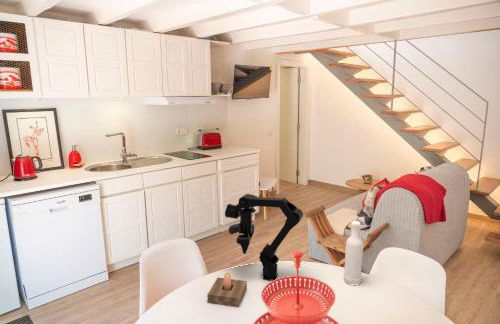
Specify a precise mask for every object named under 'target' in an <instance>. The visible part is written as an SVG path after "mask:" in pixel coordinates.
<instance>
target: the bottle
mask: <svg viewBox="0 0 500 324" xmlns="http://www.w3.org/2000/svg"><path fill="white" fill-rule="evenodd" d="M360 229H361V223H360V221H357V220H354V221H352V222H351V233H350V236H349V237H348V238H347V240H346V242H345V253H344V254H345V256H344V269H343V271H344V272H343V281H345V282H344V283H346V284H347V283H348V284H347V285H349V284H354V285H353V286H356V285H355V284H359V283H360V284H361V280H362V267H363V254H364V252H363V251H364V242H363V238H361V237H360V232H361V231H360ZM360 284H359V285H360Z"/></svg>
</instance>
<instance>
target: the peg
mask: <svg viewBox="0 0 500 324" xmlns="http://www.w3.org/2000/svg"><path fill="white" fill-rule="evenodd" d="M223 278H224V290H228V291H231V279H232V274H231V273H228V272H227V273H224V275H223Z"/></svg>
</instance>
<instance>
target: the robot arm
mask: <svg viewBox="0 0 500 324" xmlns="http://www.w3.org/2000/svg"><path fill="white" fill-rule="evenodd" d="M254 207H256V208H257V207H261V208H262V207H263V208H279V209H280V210H281V212H282V213H283V215H284V216H285V217H286V220H285V222H284V224H283V226H282V228H281V229H280V231H279V232H277V235H276V237H274V239H273V241H272V242H271V244H269V243H266V244H265V246H264V247H263V248H262V250H261V251H260V253H259V261H260V263H261V264H262V279H263V280H267V281H274V280H275V279H276V280H277V279H278V276H279V272H278V263H279V261H280V258H279V257H278V256H277V255H276V253H277V251H278V248H279V247H280V245H281V244H282V243H283V241H284V240H285V238H286V237H287V236H288V234H289V233H290V231H291V230H292V229H293V228H295V227H296V226H297V225H298V224H299V223H300V221H301V220H302V219H303V218H304V212H303V210H302V209H300V208H298V207H297V206H296V205H295V204H293V203H292V202H291V201H289V200H288V198H285V197H263V196H262V197H261V196H257V195H255V194H250V193H245V194H244V195H242V196H241V197H240V198H239V199H238V203H237V204H233V203H228V204H227V205H226V208H225V211H224V217H225V218H227V219H228V218H229V219H234V220H238V218H239V220H240V221H239V222H238V223H235V224H232V225H229V227H228V233H229V234H230V235H234V234H237V233H238V235H237V237H236V244H237V245H240V247H241V249H242V253H243V255H245V254H247V251H248V249H249V246H250V244H251V240H252V237H253V235H254V233H255V229H256V227H255V225H254V224H253V214H254V213H256V211H257V209H255V208H254Z"/></svg>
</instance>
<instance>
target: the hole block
mask: <svg viewBox="0 0 500 324" xmlns="http://www.w3.org/2000/svg"><path fill="white" fill-rule="evenodd" d="M247 284H248V283H247V280H241V279H232V278H231V291H228V290H224V277H220V276H219V277H217V278H216V279H215V281H214V283H213V284H212V286H211V287H210V289H209V291H208V292H207V295H206V296H207V303H209V304H215V305H219V306H220V305H222V306H228V307H236V308H240V306H241V303H242V301H243V299H244V296H245V294H246V292H247V290H248V285H247Z"/></svg>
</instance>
